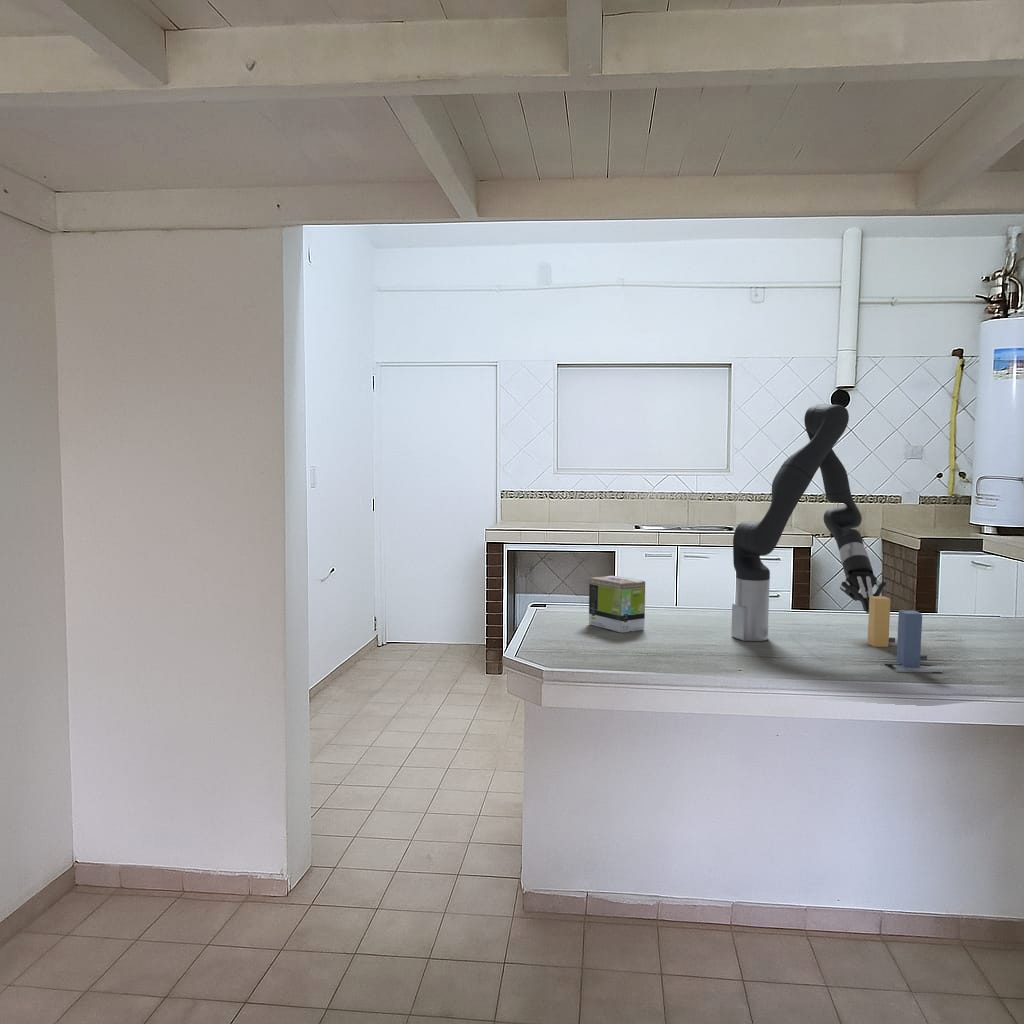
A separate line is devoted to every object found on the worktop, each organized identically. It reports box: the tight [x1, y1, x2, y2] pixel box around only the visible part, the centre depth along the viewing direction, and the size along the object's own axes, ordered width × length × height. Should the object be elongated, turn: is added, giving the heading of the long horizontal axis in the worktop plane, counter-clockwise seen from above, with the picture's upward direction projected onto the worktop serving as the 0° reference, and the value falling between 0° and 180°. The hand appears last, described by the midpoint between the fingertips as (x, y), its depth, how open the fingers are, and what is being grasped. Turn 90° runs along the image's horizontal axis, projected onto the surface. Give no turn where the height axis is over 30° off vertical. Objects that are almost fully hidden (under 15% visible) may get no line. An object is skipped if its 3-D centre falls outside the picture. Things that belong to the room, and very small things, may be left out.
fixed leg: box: [896, 610, 928, 666], centre depth 207 cm, size 4×6×13 cm, turn 88°
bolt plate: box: [884, 663, 943, 673], centre depth 217 cm, size 26×11×1 cm, turn 178°
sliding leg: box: [867, 595, 896, 648], centre depth 226 cm, size 4×6×13 cm, turn 88°
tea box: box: [588, 575, 646, 633], centre depth 252 cm, size 15×10×15 cm
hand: (870, 611), depth 233 cm, fingers closed
